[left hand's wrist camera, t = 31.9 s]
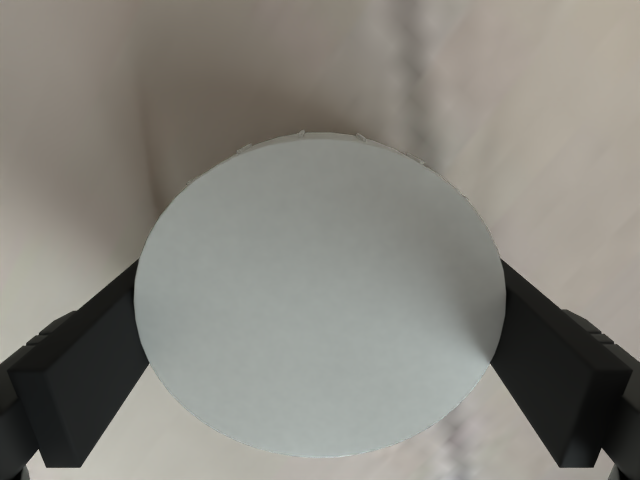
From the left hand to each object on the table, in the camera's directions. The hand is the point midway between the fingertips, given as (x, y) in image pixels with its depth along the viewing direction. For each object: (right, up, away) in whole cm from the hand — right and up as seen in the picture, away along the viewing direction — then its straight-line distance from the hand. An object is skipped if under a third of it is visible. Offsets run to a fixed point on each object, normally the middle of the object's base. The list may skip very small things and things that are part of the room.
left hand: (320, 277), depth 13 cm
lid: (0, -1, -3) cm, 3 cm away
